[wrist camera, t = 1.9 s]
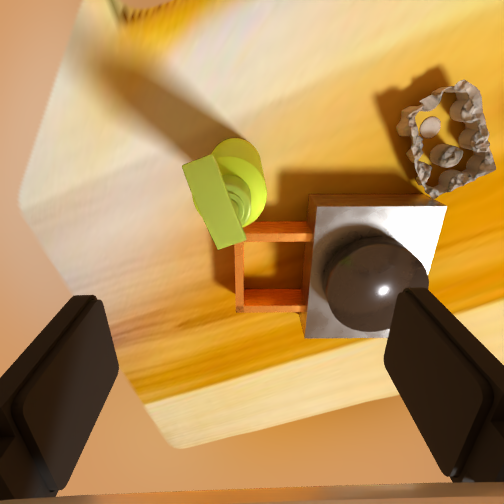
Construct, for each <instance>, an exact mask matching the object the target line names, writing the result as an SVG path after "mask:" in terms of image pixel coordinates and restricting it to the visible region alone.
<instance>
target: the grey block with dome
mask: <svg viewBox="0 0 504 504" xmlns="http://www.w3.org/2000/svg"><path fill="white" fill-rule="evenodd" d="M446 208H447V206H446V205H444V204H442V203H440V202H438V201H436V200H434V199H432V198H430V197H428V196H427V195H425V194H309V199H308V211H307V221H282V222H252V223H251V224H249V225H247V226H245V227H243V230H244V232H245V234H246V241H243V242H240V243H237V244H234V251H235V290H236V312H299V317H300V321H301V325H302V329H303V333H304V337H305V338H388V336H389V331H390V326H391V322H392V317H393V313H394V308H395V304H396V299H397V296H398V294H399V293H400V292H403V290H404V289H405V288H417V287H424V288H426V289H428V286H429V279H428V273H429V269H430V266H431V262H432V258H433V255H434V251H435V248H436V244H437V241H438V237H439V233H440V230H441V226H442V223H443V219H444V216H445V212H446ZM299 241H305V248H304V261H303V273H302V286H301V289H244V242H299Z"/></svg>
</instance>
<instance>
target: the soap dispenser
mask: <svg viewBox="0 0 504 504" xmlns="http://www.w3.org/2000/svg"><path fill="white" fill-rule="evenodd" d="M182 169H183V171H184V174H185V177H186V180H187V182H188V185H189V187H190V190H191V192H192V197H193V202H194V205H195V207H196V209H197V211H198V212H199V214H200V215H201V216H202V218H203V220H204V222H205V224H206V226H207V228H208V231H209V233H210V235H211V237H212V239H213V241H214V243H215V245H216V247H217V249H218V250H219V249H222V248H225V247H228V246H231V245H234V244H237V243H240V242H243V241H246V234H245V232H244V230H243V227H245V226H247V225H249V224H251V223H252V222H254V221H255V220H256V219H257V218H258V217H259V215H260V214H261V213H262V211H263V209H264V207H265V204H266V199H267V189H266V184H265V179H264V174H263V170H262V165H261V160H260V156H259V154H258V152H257V150H256V149H255V147H254V146H253V145H252V144H251V143H249V142H248V141H246V140H243V139H240V138H230V139H227V140H224V141H222V142H221V143H219V144H218V145H217V146H216V148H215V149H214V150H213V152H212V153H211V154H210V155H208V156H205V157H202V158H200V159H197V160H194V161H192V162H189V163H187V164H184V165H182Z"/></svg>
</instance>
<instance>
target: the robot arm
mask: <svg viewBox="0 0 504 504" xmlns="http://www.w3.org/2000/svg"><path fill="white" fill-rule="evenodd" d="M384 365H385V368H386V370H387V372H388V373H389V375H390V377H391V379H392V381H393V383H394V385H395V386H396V388H397V390H398V392H399V394H400V396H401V397H402V399H403V401H404V403H405V405H406V407H407V408H408V410H409V412H410V414H411V416H412V418H413V420H414V422H415V423H416V425H417V427H418V429H419V431H420V433H421V435H422V436H423V438H424V440H425V442H426V444H427V446H428V447H429V449H430V451H431V453H432V455H433V457H434V458H435V460H436V462H437V464H438V466H439V468H440V470H441V471H442V473H443V474H444V475H445V476H447V477H448V476H450V478H451V480H452V482H453V483H413V484H382V485H381V484H379V485H346V486H313V487H284V488H259V489H258V488H256V489H228V490H202V491H178V492H177V491H176V492H151V493H128V494H102V495H81V496H63V497H56V495H57V492H58V490H62V489H64V488H65V486H66V485H67V483H68V481H69V479H70V477H71V475H72V472H73V470H74V468H75V466H76V463H77V462H78V459H79V457H80V455H81V453H82V451H83V449H84V446H85V444H86V442H87V440H88V438H89V436H90V433H91V431H92V429H93V427H94V425H95V422H96V421H97V418H98V416H99V414H100V412H101V410H102V408H103V405H104V403H105V401H106V399H107V397H108V395H109V392H110V390H111V388H112V386H113V384H114V381H115V379H116V377H117V375H118V370H119V364H118V360H117V356H116V352H115V348H114V344H113V341H112V337H111V333H110V329H109V325H108V321H107V317H106V313H105V309H104V306H103V302H102V301H101V300H97V298H96V296H94V295H76V296H73V297H72V298H71V299H70V300H69V301H68V302H67V303H66V304H65V305H64V307H63V308H62V309H61V310H60V311H59V312H58V313H57V315H56V316H55V317H54V318H53V319H52V320H51V321H50V322H49V324H48V325H47V326H46V327H45V328H44V329H43V330H42V331H41V333H40V334H39V335H38V336H37V337H36V338H35V339H34V341H33V342H32V343H31V344H30V345H29V346H28V347H27V348H26V350H25V351H24V352H23V353H22V354H21V355H20V356H19V357H18V359H17V360H16V361H15V362H14V363H13V364H12V365H11V366H10V368H9V369H8V370H7V371H6V372H5V373H4V374H3V375H2V377H1V378H0V504H504V365H503V364H502V363H501V362H500V361H499V360H498V359H497V358H496V357H495V356H494V355H493V354H492V353H491V352H490V351H489V350H488V349H487V348H486V347H485V346H484V345H483V344H482V343H481V342H480V341H479V340H478V339H477V338H476V337H475V336H474V335H473V334H472V333H471V332H470V331H469V330H468V329H467V328H466V327H465V326H464V325H463V324H462V323H461V322H460V321H459V320H458V319H457V318H456V317H455V316H454V315H453V314H452V313H451V312H450V311H449V310H448V309H447V308H446V307H445V306H444V305H443V304H442V303H441V302H440V301H439V300H438V299H437V298H436V297H435V296H434V295H433V294H432V293H431V292H430V291H429V290H428V289H426V288H424V287H417V288H405V289H404V290H403V292H400V293H399V294H398V296H397V299H396V304H395V308H394V313H393V317H392V322H391V326H390V331H389V336H388V340H387V345H386V349H385V354H384Z"/></svg>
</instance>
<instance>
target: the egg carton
mask: <svg viewBox="0 0 504 504" xmlns="http://www.w3.org/2000/svg"><path fill="white" fill-rule="evenodd" d="M443 91H444V92H446V93H452V92H455V93H456V97H457V100H456V101H455V102H454V103H453V104H452V106H451V107H450V111H449V115H450V118H451V119H452V120H454V121H459V122H464V123H465V126H466V129H464V130H463V131H462V132H461V134H460V136H459V138H458V143H459V145H460V147H462V148H464V149H469V150H473V153H474V155H473V156H472V157H471V158H470V159H469V160H468V161H467V165H466V169H465V170H463V171H462V172H460V171H457V170H453V169H448V170H445V171H444V172H443V173H442V174H441V175H440V177H439V180H438V182H439V184H438V185H436V186H435V187H431V186H428V185H426V184H425V183H426V182H427V180H428V178H429V177H430V173H431V170H432V167H431V165H428V164H426V163H424V162H421V161H418V159H419V158H420V157H421V155H422V154H423V151H422V147H423V143H422V140H423V138H421V137H420V136H418V128H417V125H416V122H415V116H416V114H417V113H418V112H419V111H431V110H433V109H435V108H436V107H437V105H438V104H439V103H440V101H441V98H442V94H443ZM419 102H420V103H421V105H419V106H409V107H407V108H405V109H403V110H402V111H401V120H400V122H399V124H398V125H397V126H396V130H397V132H398V134H399V135H400V136H409V137H410V138H411V140H412V144H411V147H410V149H409V151H408V152H407V153H406V155H407V157H408V158H409V160H410V161H411V162H412V163H415V170H416V172H417V174H418V176H417V177H416V181H417V183H418V185H422V186H423V187H424V188H425V192H426V193H427V194H429V195H430V196H431V198H432V199H435V198H437V197H438V195H440V194H443V193H445V192H451V191H453V190H454V189H455V188H457V187H460V186H463V185H465V184H467V183H469V182H472V181H475V179H476V178H478V177H480V176H483V175H486V174H488V173H490V172H492V171H494V170H496V166H495V163H494V160H493V156H492V153H491V151H490V149H489V146H490V143H489V142H488V137H489V132H488V130H487V127H486V122H485V117H484V114H483V109H482V97H481V94H480V91H479V90H478V89H477V88H476V87H475V86H473V85H472V84H470V83H469V82H467V81H466V80H461V81H459V82H458V83H457V84H456V85H455V86H451V87H440V88H438V89H437V90H435V91H433V92H432V93H431V95H430V96H428V97H426V98H424V99H422V100H420V101H419ZM439 130H440V120H439V119H438V118H436V117H428V118H426V119H425V120H424V121H423V123H422V124H421V127H420V134H421V135H422V137H424V138H432V137H434V136H435V135H436V134H437V133H438V132H439ZM462 156H463V150H461V149H459V148H458V147H456V146H452V145H447V144H438V145H436V146H435V147H434V148H433V149H432V150H431V152H430V157H429V158H430V161H431V162H432V163H433V164H436V165H439V166H441V167H445V168H448V167H452V166H455V165H457V164H458V162H459V161H460V160H461V158H462Z"/></svg>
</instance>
